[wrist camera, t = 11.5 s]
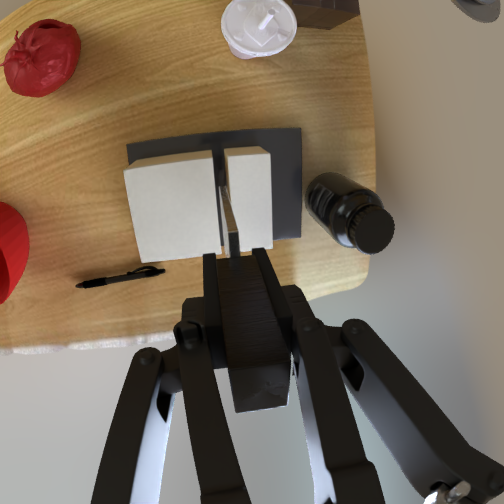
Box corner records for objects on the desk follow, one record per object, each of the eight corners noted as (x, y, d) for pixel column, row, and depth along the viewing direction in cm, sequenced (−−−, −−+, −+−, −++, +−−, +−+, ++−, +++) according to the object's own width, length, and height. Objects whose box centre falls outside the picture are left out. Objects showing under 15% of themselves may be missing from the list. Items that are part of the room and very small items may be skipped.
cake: (211, 149, 31) (212, 157, 26) (218, 231, 36) (221, 254, 31) (136, 159, 31) (123, 170, 25) (150, 239, 35) (141, 263, 30)
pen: (163, 261, 38) (162, 265, 37) (166, 272, 38) (165, 276, 37) (74, 277, 37) (71, 281, 36) (78, 287, 37) (76, 291, 36)
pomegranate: (90, 86, 26) (54, 82, 18) (25, 107, 25) (-19, 113, 17) (90, 15, 22) (59, -8, 13) (25, 40, 20) (-16, 30, 12)
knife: (235, 184, 25) (293, 329, 9) (239, 247, 28) (286, 422, 12) (209, 187, 25) (222, 339, 9) (216, 250, 27) (238, 430, 12)
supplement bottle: (321, 230, 39) (361, 277, 29) (293, 192, 36) (330, 230, 26) (360, 200, 38) (411, 236, 27) (335, 160, 35) (387, 185, 24)
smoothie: (217, 71, 28) (225, 44, 16) (216, 21, 25) (223, -30, 13) (274, 69, 29) (317, 47, 17) (272, 21, 26) (312, -24, 14)
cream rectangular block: (259, 146, 32) (270, 153, 27) (262, 226, 37) (272, 248, 31) (223, 148, 32) (227, 156, 26) (230, 230, 36) (235, 252, 31)
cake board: (298, 127, 33) (301, 127, 32) (298, 234, 39) (301, 237, 38) (128, 143, 30) (126, 144, 29) (147, 251, 37) (145, 254, 36)
